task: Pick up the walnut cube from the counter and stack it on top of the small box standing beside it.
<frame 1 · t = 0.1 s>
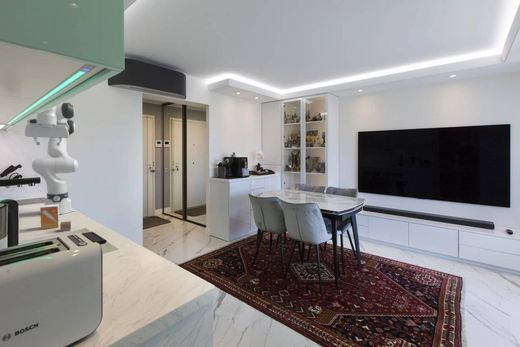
hand: (48, 145, 155), 48 cm above the counter, tool pointing down, fingers open, 8 cm apart
small box: (50, 227, 154), on the counter
walnut cube: (65, 230, 150), on the counter
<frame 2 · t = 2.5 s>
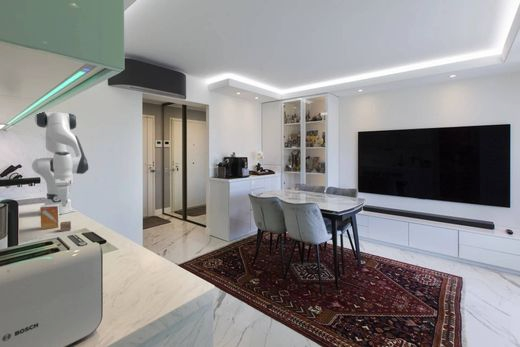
hand: (64, 205, 148), 15 cm above the counter, tool pointing down, fingers open, 8 cm apart
nothing on the counter moved.
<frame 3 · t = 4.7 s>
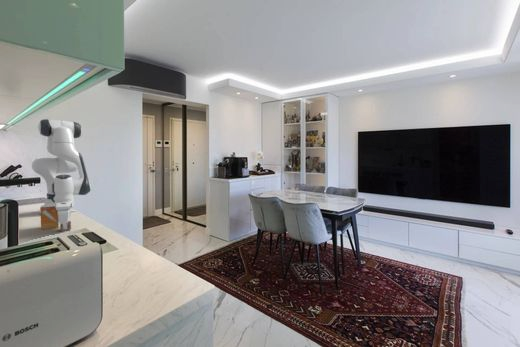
hand: (65, 227, 150), 2 cm above the counter, tool pointing down, fingers closed on walnut cube, 4 cm apart
walnut cube: (65, 230, 150), on the counter, touching gripper
everything else where it was.
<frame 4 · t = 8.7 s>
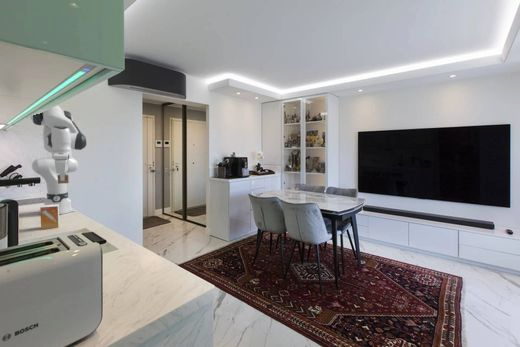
hand: (63, 180, 147), 29 cm above the counter, tool pointing down, fingers closed on walnut cube, 4 cm apart
walnut cube: (63, 182, 147), point 27 cm above the counter, touching gripper
everything else where it was.
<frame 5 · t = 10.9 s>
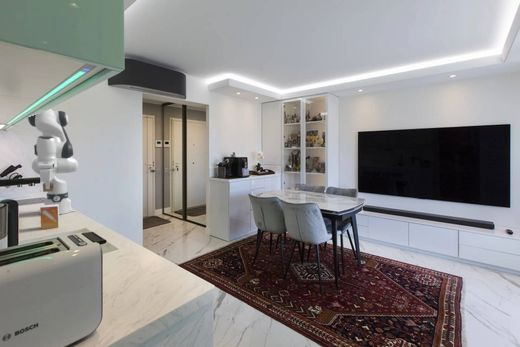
hand: (48, 188, 152), 23 cm above the counter, tool pointing down, fingers closed on walnut cube, 4 cm apart
walnut cube: (48, 190, 152), point 22 cm above the counter, touching gripper
everything else where it was.
when the fingers open (16 cm above the counter, at t = 12.9 s): walnut cube drops 1 cm, resting on small box.
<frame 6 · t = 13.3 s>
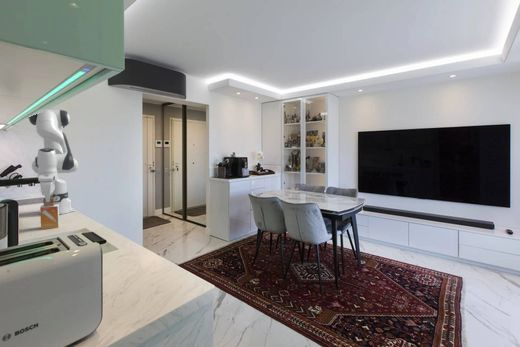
hand: (49, 200, 152), 16 cm above the counter, tool pointing down, fingers open, 8 cm apart
small box: (50, 227, 154), on the counter, touching walnut cube
walnut cube: (49, 205, 153), point 13 cm above the counter, touching small box
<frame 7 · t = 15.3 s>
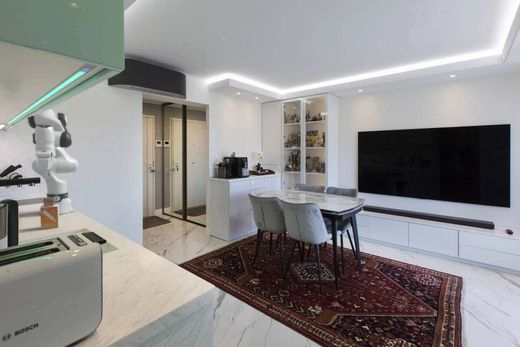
hand: (46, 177, 152), 30 cm above the counter, tool pointing down, fingers open, 8 cm apart
nothing on the counter moved.
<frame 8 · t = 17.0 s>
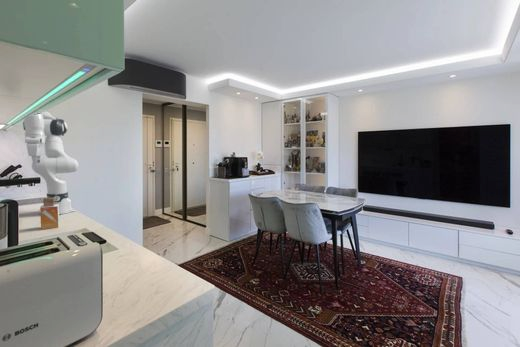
hand: (36, 163, 154), 37 cm above the counter, tool pointing down, fingers open, 8 cm apart
nothing on the counter moved.
at the end: walnut cube 0.1 cm off-centre on the small box, point 13.2 cm above the small box's base; small box tilted 0°; the gripper is holding nothing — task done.
